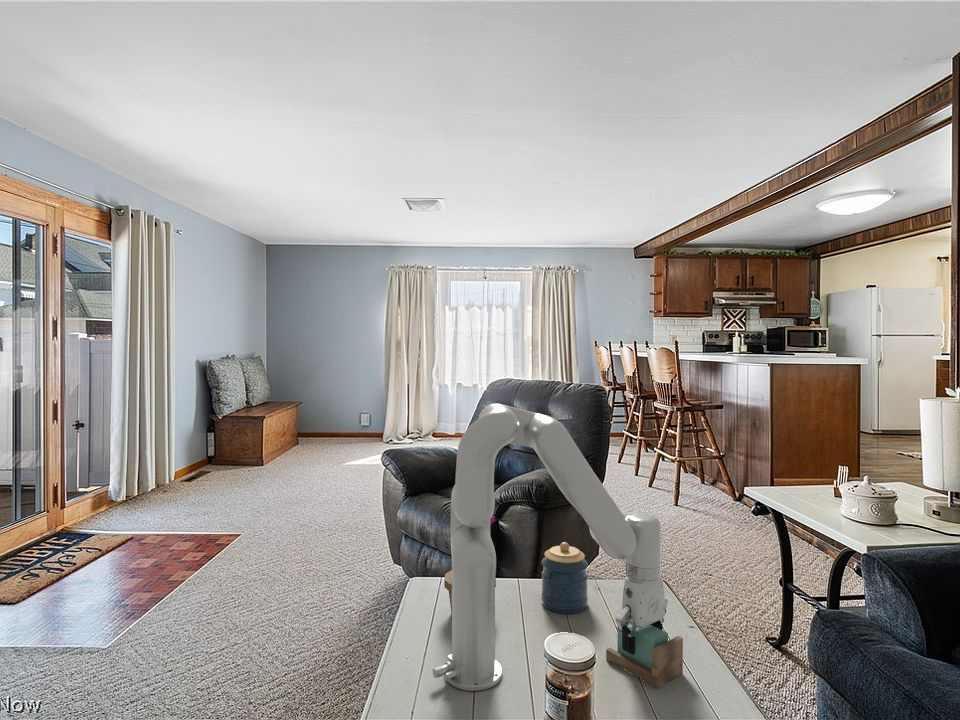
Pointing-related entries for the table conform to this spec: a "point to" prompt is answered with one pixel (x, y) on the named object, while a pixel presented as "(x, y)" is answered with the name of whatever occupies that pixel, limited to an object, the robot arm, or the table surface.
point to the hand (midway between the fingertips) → (642, 645)
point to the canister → (564, 579)
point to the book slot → (654, 662)
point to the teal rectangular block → (644, 644)
